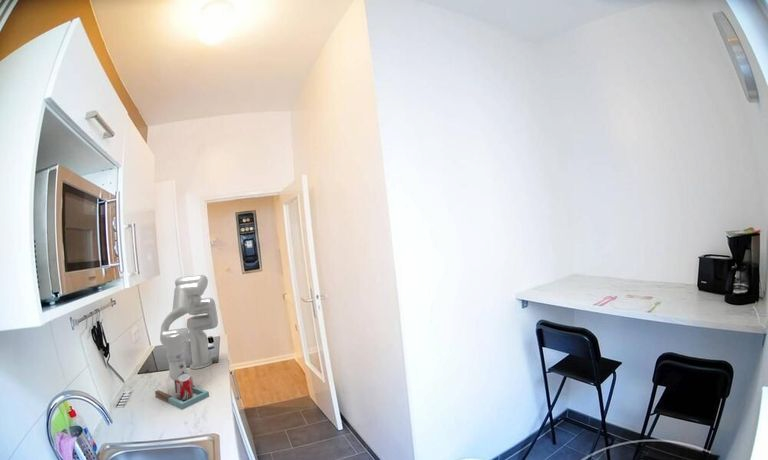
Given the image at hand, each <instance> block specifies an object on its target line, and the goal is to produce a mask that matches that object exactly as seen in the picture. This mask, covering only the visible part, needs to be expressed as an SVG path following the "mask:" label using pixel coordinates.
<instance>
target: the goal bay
mask: <svg viewBox="0 0 768 460" xmlns="http://www.w3.org/2000/svg"><path fill="white" fill-rule="evenodd" d="M193 394H196V395H195V396H193V397H190V398H189V399H187V400H179V399H178V398H176V397H174V396H172V397H169V398H168V401H169V403H168V404H170V405H173V406H174V407H176V408H178V409H181V410H184V409H185V408H188V407H190V406H192V405H195V404H197V403H199V402H201V401H202V400H205V399H206V398H208V397H210V393H209V390H207V389H206V390H205V389H203V388H200V387H197V386H194V387H193Z"/></svg>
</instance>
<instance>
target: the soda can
mask: <svg viewBox="0 0 768 460" xmlns="http://www.w3.org/2000/svg"><path fill="white" fill-rule="evenodd" d="M193 385H194V383H193V377H192V375H191V374H190V372H189V373H188V372H187V373H184V374H181V375H180V376H179V377H178V379H177V382H176V385H175V386H177V393H176V397H177V399H178V400H181V401H186V400H188V399H191V398H192V396H193V394H194V393H193Z"/></svg>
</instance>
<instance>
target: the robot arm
mask: <svg viewBox="0 0 768 460" xmlns="http://www.w3.org/2000/svg"><path fill="white" fill-rule="evenodd" d="M208 281H209V280H208V277H207V276H206V275H204V274H201V275H200V274H198V275H189V276H182V277H178V278H176V279H175V280H174V284H175V288H174V292H173V301H172V302H173V303H172V310H171V312H170V313H169V314H168V315H166V317H165V318H164V320H163V321H162V323H161V326H160V332H159V333H160V334H159V335H160V336H159V341H160V344H161V345H164V346H165V348H166V357H167V363H168V372H169V377H170V379H172V380H173V382H174V383H173V384H174V387H175V393H176V394H177V386H176V382H177V379H178V377H179V376H180V375H181V374H184V373H188V369H187V363H186V360H185V358H186V357H185V348H184V344H185V343H188V342H190V353H191V359H192V360H191V361H192V364H190V365H189V368H190V369H192V370H200V369H203V368H207V367H209V366H211V364H213V359H215V358H217V357H218V356H217V354H216V353H215V354H210V352H209V341H208V336H207V334H206V332H204V331H206V330H214V329H216V328H217V327H218V324H219V322H218V321H219V320H218V319H219V318H218V314H217V313H218V312H217V306H216V302H215V299H214V298H212V297H205V298H203V297H202V296H203V295H204V293H205V291H206V289H207V287H208ZM186 314H188V315H190V316H191V317H189V318H188V319H187V320H186V327H184V328H183V327H182V328H176V329H175V328H174V329H170V326H171V325H172V324H173V323H174V322H175V321H176V320H178V319H179V318H182V317H183V316H185V315H186ZM209 354H210V355H209Z"/></svg>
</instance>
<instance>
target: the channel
mask: <svg viewBox="0 0 768 460" xmlns="http://www.w3.org/2000/svg"><path fill="white" fill-rule="evenodd" d="M194 386H195V385H194V384H193V387H194ZM195 387H196V386H195ZM154 393H155V398H157V399H159V400H161V401H164V402H165V403H168V404H170V403H169V401H168V398H169V397H173V396H172V395H171V394H168V393H166V392H164V391H161V390H159V389H158V390H156V391H154Z"/></svg>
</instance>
